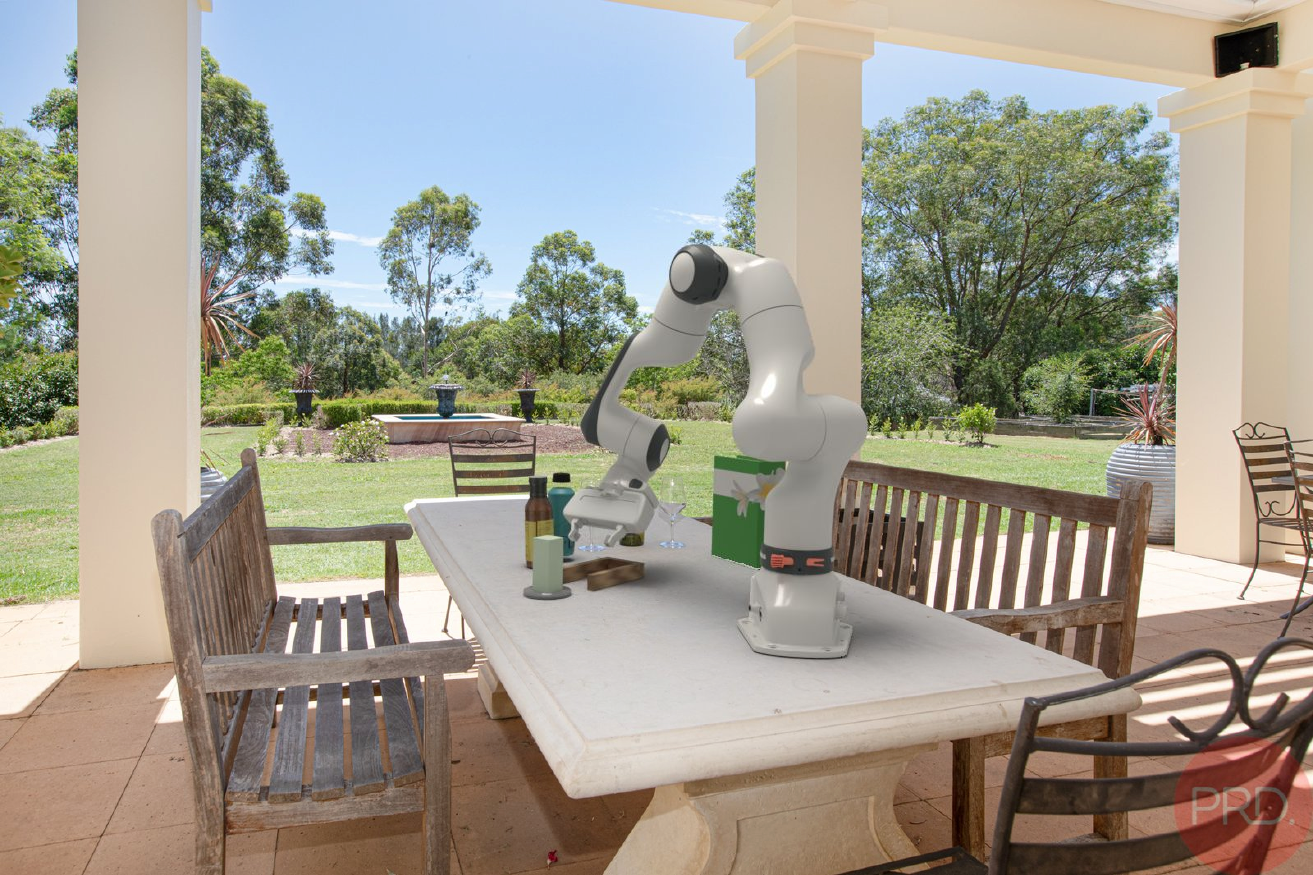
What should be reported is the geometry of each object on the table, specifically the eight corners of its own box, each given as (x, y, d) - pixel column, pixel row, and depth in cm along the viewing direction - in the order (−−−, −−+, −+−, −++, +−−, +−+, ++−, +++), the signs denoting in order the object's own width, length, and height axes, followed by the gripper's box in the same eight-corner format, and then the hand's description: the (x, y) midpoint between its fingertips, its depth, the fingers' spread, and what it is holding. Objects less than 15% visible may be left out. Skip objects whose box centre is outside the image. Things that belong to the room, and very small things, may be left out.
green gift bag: (711, 555, 203) (714, 455, 202) (736, 553, 207) (739, 455, 206) (756, 570, 188) (759, 461, 187) (782, 567, 192) (785, 461, 190)
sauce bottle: (556, 564, 189) (558, 475, 188) (550, 570, 183) (552, 478, 181) (527, 563, 189) (529, 474, 188) (520, 568, 183) (522, 477, 182)
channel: (607, 570, 184) (607, 556, 184) (644, 577, 178) (644, 562, 178) (554, 583, 170) (555, 568, 170) (593, 591, 165) (593, 575, 164)
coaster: (565, 600, 156) (565, 596, 156) (517, 598, 157) (517, 594, 157) (575, 589, 165) (575, 585, 165) (530, 587, 166) (530, 583, 166)
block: (546, 586, 164) (547, 535, 163) (562, 589, 162) (563, 537, 161) (532, 590, 161) (533, 537, 160) (548, 593, 158) (549, 540, 158)
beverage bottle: (561, 564, 189) (562, 474, 188) (539, 560, 193) (541, 472, 192) (580, 560, 194) (582, 472, 193) (559, 556, 198) (561, 470, 197)
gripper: (576, 476, 182) (544, 526, 175) (653, 484, 170) (622, 538, 163) (589, 495, 186) (558, 545, 179) (666, 504, 174) (636, 558, 167)
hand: (589, 542), depth 171 cm, fingers open, 8 cm apart
